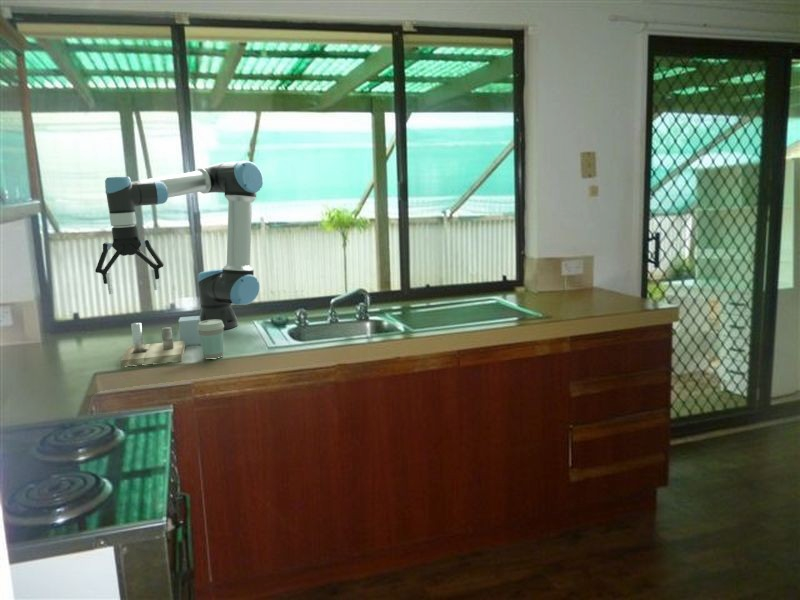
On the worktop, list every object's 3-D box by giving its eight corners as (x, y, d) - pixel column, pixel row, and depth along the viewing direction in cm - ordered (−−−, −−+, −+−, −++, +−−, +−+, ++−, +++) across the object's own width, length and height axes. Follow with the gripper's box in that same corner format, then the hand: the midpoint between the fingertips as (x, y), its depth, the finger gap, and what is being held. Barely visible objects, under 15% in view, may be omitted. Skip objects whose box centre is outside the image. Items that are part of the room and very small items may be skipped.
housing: (202, 339, 223) (200, 315, 221) (201, 343, 216) (199, 319, 215) (182, 341, 221) (179, 317, 219) (181, 346, 214) (178, 321, 213)
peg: (146, 356, 202) (141, 322, 200) (145, 359, 199) (140, 324, 197) (135, 357, 201) (131, 323, 199) (134, 360, 198) (130, 325, 196)
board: (185, 347, 212) (182, 321, 211) (181, 361, 195) (178, 333, 194) (130, 352, 208) (126, 326, 206) (121, 367, 191) (117, 338, 189)
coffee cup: (217, 352, 205) (214, 317, 203) (232, 356, 200) (229, 320, 197) (195, 358, 198) (191, 323, 196) (209, 362, 193) (206, 326, 191)
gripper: (166, 222, 199) (174, 285, 203) (83, 228, 192) (94, 293, 197) (164, 224, 191) (173, 289, 196) (78, 230, 185) (89, 297, 190)
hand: (133, 291), depth 196 cm, fingers open, 13 cm apart
